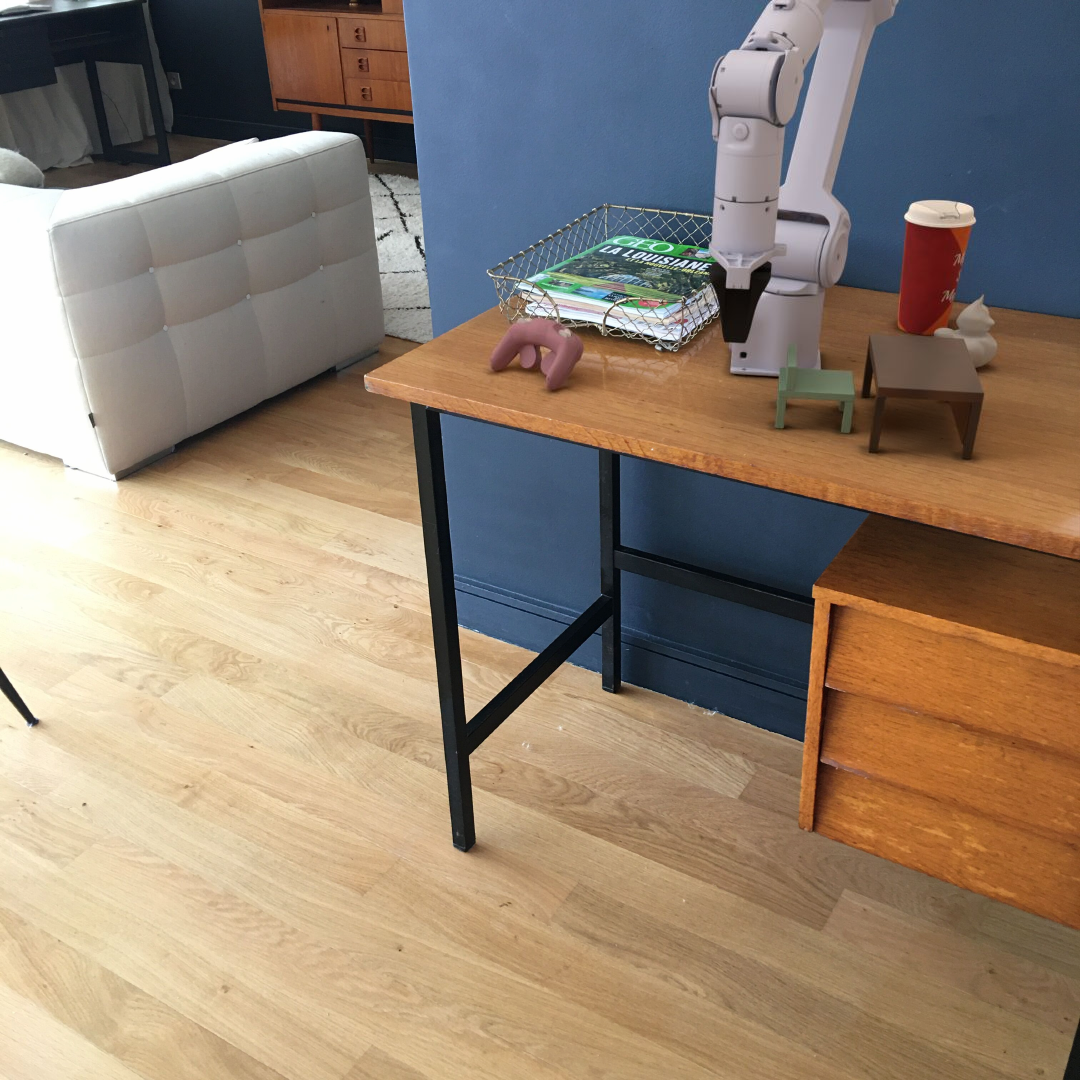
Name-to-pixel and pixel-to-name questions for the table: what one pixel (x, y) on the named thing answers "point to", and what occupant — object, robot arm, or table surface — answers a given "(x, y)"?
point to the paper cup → (932, 263)
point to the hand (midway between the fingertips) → (735, 340)
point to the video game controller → (527, 343)
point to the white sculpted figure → (974, 332)
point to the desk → (924, 380)
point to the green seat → (814, 388)
